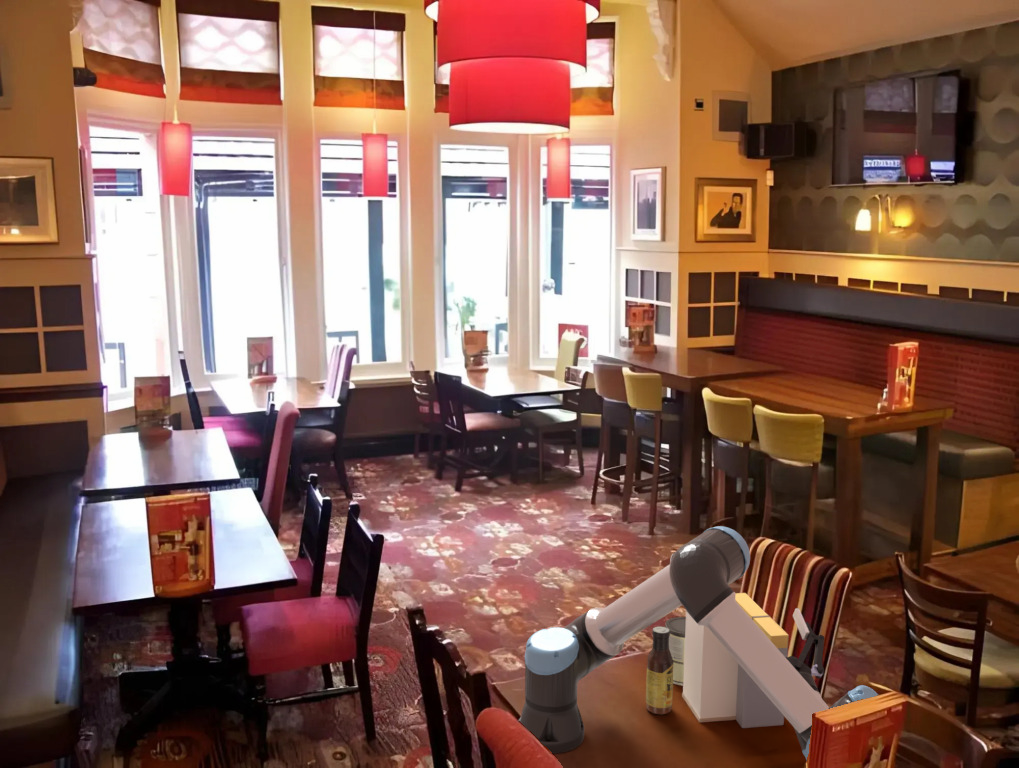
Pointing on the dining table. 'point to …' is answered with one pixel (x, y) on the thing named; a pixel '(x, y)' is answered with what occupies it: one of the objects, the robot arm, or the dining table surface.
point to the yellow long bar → (763, 621)
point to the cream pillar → (708, 675)
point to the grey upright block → (755, 702)
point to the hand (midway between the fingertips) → (767, 613)
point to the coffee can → (677, 647)
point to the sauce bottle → (659, 673)
